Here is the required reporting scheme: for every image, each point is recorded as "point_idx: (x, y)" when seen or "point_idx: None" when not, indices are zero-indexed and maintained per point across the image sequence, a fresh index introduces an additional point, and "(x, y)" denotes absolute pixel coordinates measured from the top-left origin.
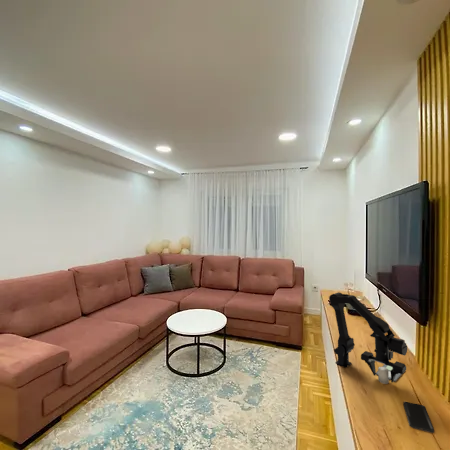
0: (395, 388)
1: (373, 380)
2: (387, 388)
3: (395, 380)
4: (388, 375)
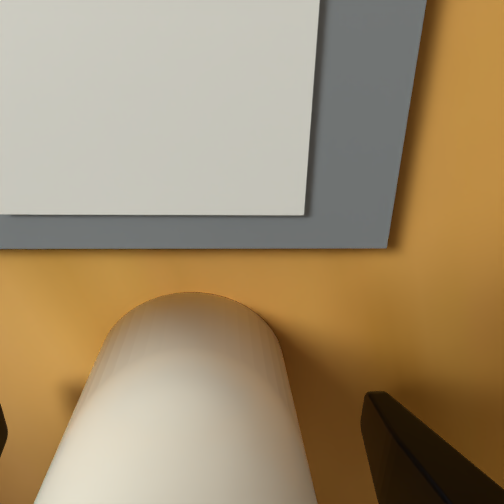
0: None
1: None
2: None
3: (388, 226)
4: (315, 501)
